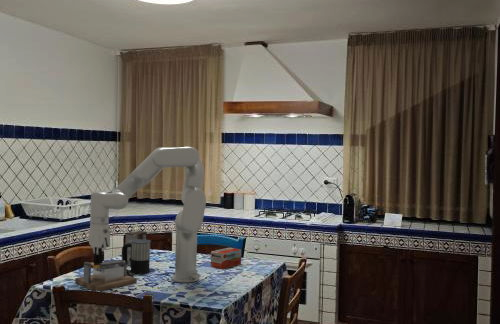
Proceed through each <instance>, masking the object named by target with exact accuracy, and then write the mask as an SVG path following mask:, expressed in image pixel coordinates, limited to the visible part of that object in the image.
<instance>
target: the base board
mask: <svg viewBox="0 0 500 324" xmlns="http://www.w3.org/2000/svg"><path fill="white" fill-rule="evenodd" d="M74 279H75V280H74V281H75V282H74V283H75V284H78V285H80V286H82V287H84V288H86V289H89V290H91V289H92V291H94V290H97V291H99V292H102V291H107V290H112V289H111V288H113V289H116V287H117V288H121V286H122V287H125V286H126V287H127V286H130V285H135V284H137V281H138V279H137V278H136V277H133V276H124V279H119V280H114V281H109V282H103V281H100V280H98V279H95V278H93V274H91V283H86V282H84V276H80V277H75V278H74Z"/></svg>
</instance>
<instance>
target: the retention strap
mask: <svg viewBox="0 0 500 324" xmlns="http://www.w3.org/2000/svg"><path fill="white" fill-rule="evenodd" d="M90 263H91V269H93V268H99V267H104V266H112V265H120V264H126V261H123V260H122V259H117V260H109V261H102V263H100V264H95V263H94V261H93V262H90Z"/></svg>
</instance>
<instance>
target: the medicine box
mask: <svg viewBox="0 0 500 324" xmlns="http://www.w3.org/2000/svg"><path fill="white" fill-rule="evenodd" d="M239 265H240V266H241V265H242V249H239V248H233V247H226V248H222V249H221V248H220V249H216V250H213V251H211V252H210V267H211V268H214V269H220V270H224V269H225V270H226V269H227V268H232V267H235V266H239Z"/></svg>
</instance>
